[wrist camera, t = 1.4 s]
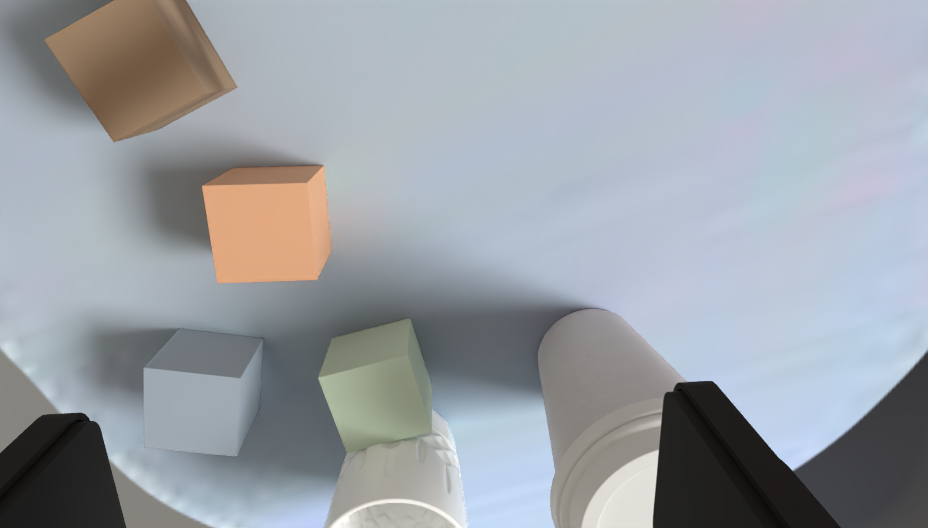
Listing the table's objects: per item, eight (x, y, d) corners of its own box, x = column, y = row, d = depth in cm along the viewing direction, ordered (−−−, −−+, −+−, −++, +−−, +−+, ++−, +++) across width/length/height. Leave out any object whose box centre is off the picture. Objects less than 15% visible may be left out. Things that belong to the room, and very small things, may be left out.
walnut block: (101, 41, 32) (43, 39, 27) (183, -5, 31) (139, -15, 27) (158, 129, 33) (114, 142, 29) (237, 87, 33) (205, 93, 28)
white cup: (457, 385, 39) (465, 491, 30) (468, 487, 42) (478, 613, 32) (333, 399, 39) (303, 508, 30) (352, 499, 42) (329, 630, 32)
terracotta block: (233, 167, 34) (201, 185, 30) (324, 165, 35) (307, 182, 30) (245, 253, 36) (217, 283, 31) (332, 250, 36) (316, 279, 31)
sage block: (331, 337, 38) (317, 378, 33) (410, 317, 38) (407, 355, 33) (356, 405, 40) (346, 453, 35) (432, 386, 39) (432, 431, 35)
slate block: (179, 327, 37) (143, 367, 33) (264, 337, 38) (240, 378, 33) (178, 399, 39) (143, 447, 34) (259, 408, 39) (236, 456, 35)
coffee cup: (498, 408, 40) (534, 603, 26) (533, 272, 37) (596, 408, 23) (637, 430, 41) (745, 629, 27) (682, 300, 38) (830, 445, 24)
